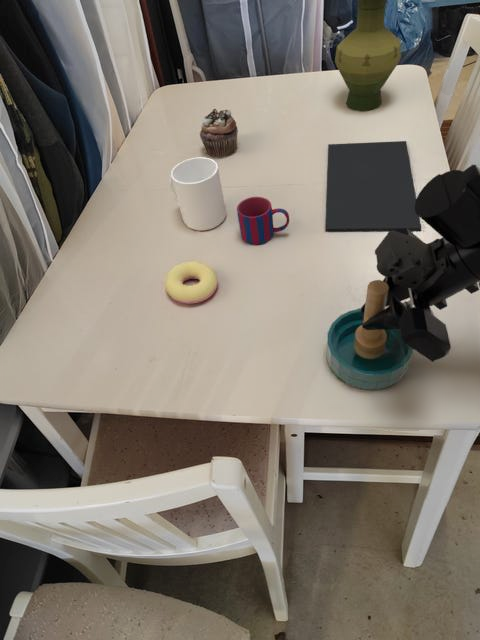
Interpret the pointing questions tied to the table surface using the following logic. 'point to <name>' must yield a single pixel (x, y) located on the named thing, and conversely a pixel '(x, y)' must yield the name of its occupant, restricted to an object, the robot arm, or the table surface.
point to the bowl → (361, 369)
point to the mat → (370, 188)
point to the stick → (369, 340)
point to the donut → (196, 291)
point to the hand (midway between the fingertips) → (363, 319)
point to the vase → (367, 56)
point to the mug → (198, 193)
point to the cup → (258, 220)
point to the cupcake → (219, 134)
